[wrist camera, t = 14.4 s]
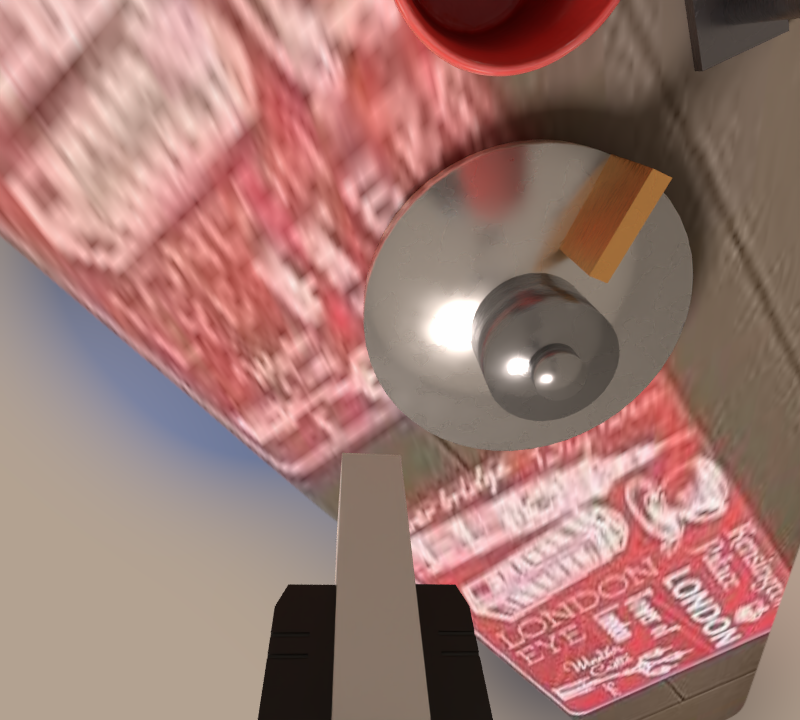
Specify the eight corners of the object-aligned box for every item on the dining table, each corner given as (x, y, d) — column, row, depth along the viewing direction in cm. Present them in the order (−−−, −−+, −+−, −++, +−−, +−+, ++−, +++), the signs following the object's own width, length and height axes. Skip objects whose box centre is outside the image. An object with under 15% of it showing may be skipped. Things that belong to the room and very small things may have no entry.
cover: (450, 358, 37) (467, 412, 31) (506, 254, 33) (536, 292, 28) (548, 394, 39) (581, 450, 33) (610, 298, 35) (659, 343, 30)
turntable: (320, 388, 39) (313, 447, 33) (444, 76, 30) (466, 78, 24) (572, 464, 45) (606, 527, 39) (743, 218, 35) (823, 250, 29)
